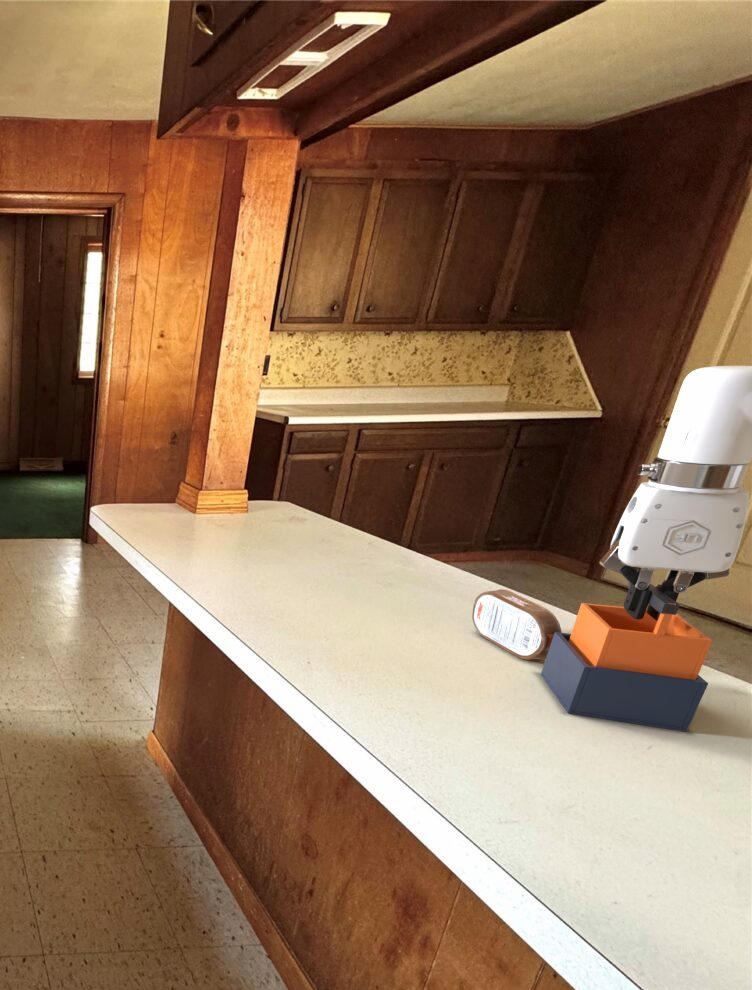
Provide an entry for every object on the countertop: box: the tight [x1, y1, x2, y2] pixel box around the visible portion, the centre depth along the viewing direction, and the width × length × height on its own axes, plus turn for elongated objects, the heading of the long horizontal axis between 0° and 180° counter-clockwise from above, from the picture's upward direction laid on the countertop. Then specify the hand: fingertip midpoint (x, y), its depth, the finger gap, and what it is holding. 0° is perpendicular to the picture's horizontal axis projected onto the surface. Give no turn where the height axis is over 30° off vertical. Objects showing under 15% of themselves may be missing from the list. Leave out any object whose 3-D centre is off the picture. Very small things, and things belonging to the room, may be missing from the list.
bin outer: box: [540, 632, 709, 733], centre depth 89 cm, size 12×12×7 cm
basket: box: [569, 582, 713, 680], centre depth 87 cm, size 10×10×15 cm
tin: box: [471, 588, 563, 661], centre depth 105 cm, size 15×3×8 cm, turn 179°
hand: (644, 615), depth 86 cm, fingers closed on basket, 1 cm apart
